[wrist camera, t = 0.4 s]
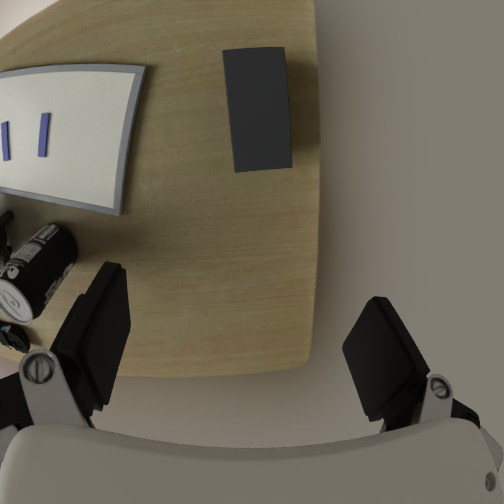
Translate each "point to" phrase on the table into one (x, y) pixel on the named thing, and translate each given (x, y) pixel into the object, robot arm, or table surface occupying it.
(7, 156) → the blue bar
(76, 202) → the whiteboard
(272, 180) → the table surface
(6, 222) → the toy ball
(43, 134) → the blue rectangular bar
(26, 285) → the beverage can
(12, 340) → the toy car
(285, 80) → the whiteboard eraser
